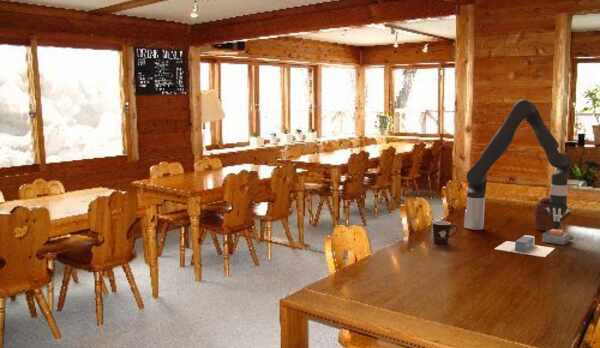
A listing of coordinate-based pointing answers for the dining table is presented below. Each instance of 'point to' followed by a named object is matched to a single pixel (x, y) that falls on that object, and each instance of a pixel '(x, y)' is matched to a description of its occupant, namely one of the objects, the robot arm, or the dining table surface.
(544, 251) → the paper sheet
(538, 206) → the wooden figurine
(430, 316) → the dining table surface
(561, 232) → the button cap
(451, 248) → the dining table surface
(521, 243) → the eraser
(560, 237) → the button housing
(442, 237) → the coffee mug
